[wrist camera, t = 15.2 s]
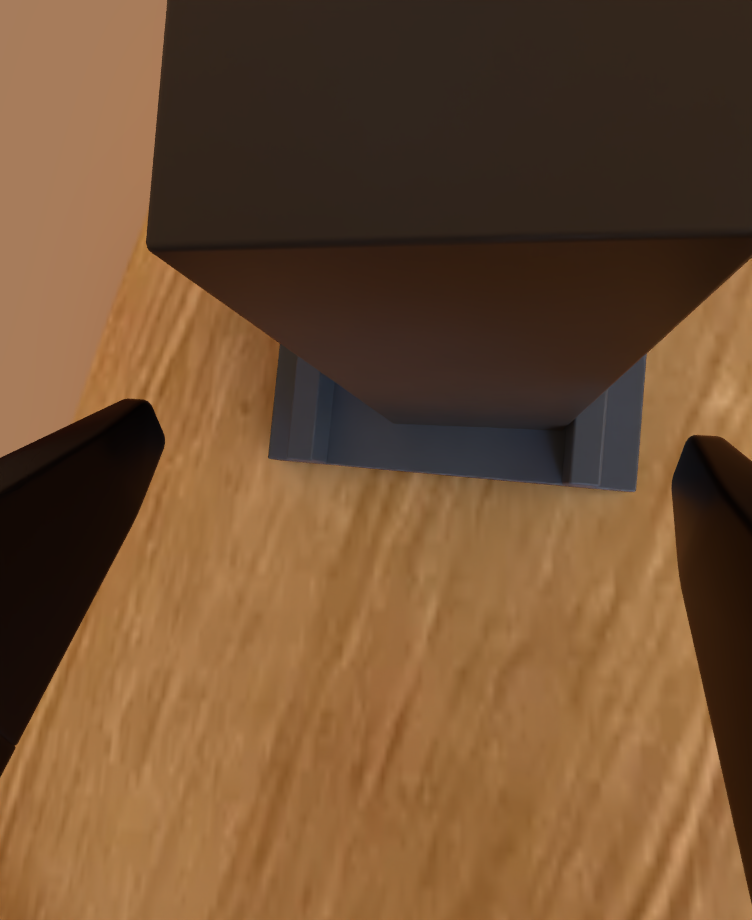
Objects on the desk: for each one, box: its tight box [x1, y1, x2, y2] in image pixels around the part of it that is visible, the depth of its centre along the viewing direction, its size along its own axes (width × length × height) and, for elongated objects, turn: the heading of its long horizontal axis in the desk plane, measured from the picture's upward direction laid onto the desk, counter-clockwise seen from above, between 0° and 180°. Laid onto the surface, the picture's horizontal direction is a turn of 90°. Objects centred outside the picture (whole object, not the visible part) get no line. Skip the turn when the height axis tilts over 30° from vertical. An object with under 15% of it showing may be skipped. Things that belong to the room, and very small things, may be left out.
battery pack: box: [146, 0, 752, 431], centre depth 10 cm, size 5×9×13 cm, turn 176°
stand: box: [268, 344, 647, 492], centre depth 17 cm, size 13×11×2 cm
